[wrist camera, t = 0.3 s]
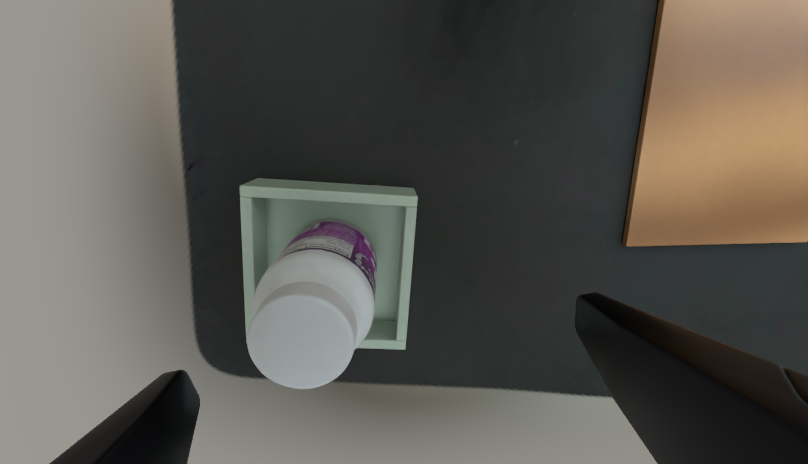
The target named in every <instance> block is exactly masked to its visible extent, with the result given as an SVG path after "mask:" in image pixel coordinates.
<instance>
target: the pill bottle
mask: <svg viewBox="0 0 808 464" xmlns="http://www.w3.org/2000/svg"><path fill="white" fill-rule="evenodd" d="M376 272H377V259H376V253H375V249H374V247H373V244H372V242H371V241H370V239H369V238H368V237H367V235H366V234H365V233H364V232H363V231H362V230H361V229H360V228H358V227H357V226H355V225H353V224H351V223H349V222H347V221H343V220H338V219H325V220H320V221H317V222H314V223H312V224H310V225H308V226H306V227H305V228H304V229H303V230H301V231H300V232H299V233H298V234H297V236H296V237H295V238H294V239H293V240H292V241H291V242H290V243H289V244H288V245H287V247H286V248H285V249H284V250H283V251H282V253H281V254H280V255H279V256H278V257H277V259H276V260H275V261H274V262H273V264H272V265H271V266H270V267H269V268H268V269H267V271H266V272H265V273H264V275H263V276H262V278H261V280H260V282H259V284H258V286H257V288H256V291H255V295H254V299H253V315H254V317H253V319H252V321H251V323H250V326H249V330H248V334H247V346H248V351H249V354H250V357H251V359H252V361H253V362H254V364H255V366H256V367H257V368H258V369H259V370H260V372H261V373H262V374H263V375H264V376H266V377H267V378H268V379H270V380H272V381H274V382H275V383H277V384H280V385H282V386H286V387H289V388H296V389H310V388H316V387H319V386H322V385H325V384H327V383H329V382H331V381H333V380H334V379H336V378H337V377H338V376H339V375H340V374H341V373H342V372H343V371H344V370H345V369H346V367H347V366H348V364H349V362H350V360H351V358H352V355H353V352H354V350H355V349H356V348H357V347H358V346H359V345H360V344H361V343H362V341H363V340H364V339H365V337H366V336H367V334H368V332H369V330H370V328H371V325H372V321H373V317H374V313H375V290H376Z"/></svg>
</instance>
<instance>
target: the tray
mask: <svg viewBox="0 0 808 464" xmlns="http://www.w3.org/2000/svg"><path fill="white" fill-rule="evenodd" d="M240 196H241V197H240V210H241V233H242V256H243V278H244V301H245V324H246V343H247V334H248V330H249V326H250V323H251V321H252V319H253V317H254V315H253V299H254V295H255V291H256V288H257V286H258V284H259V282H260V280H261V278H262V276H263V275H264V273H265V272H266V271H267V269H268V268H269V267H270V266H271V265H272V264H273V262H274V261H275V260H276V259H277V257H278V256H279V255H280V254H281V253H282V251H283V250H284V249H285V248H286V247H287V245H288V244H289V243H290V242H291V241H292V240H293V239H294V238H295V237H296V236H297V234H298V233H299V232H300V231H301V230H303V229H304V228H305V227H306V226H308V225H310V224H312V223H314V222H317V221H320V220H325V219H338V220H343V221H347V222H349V223H351V224H353V225H355V226H357V227H358V228H360V229H361V230H362V231H363V232H364V233H365V234H366V235H367V237H368V238H369V239H370V241H371V242H372V244H373V247H374V249H375V253H376V259H377V272H376V290H375V313H374V317H373V321H372V325H371V328H370V330H369V332H368V334H367V336H366V337H365V339H364V340H363V341H362V343H361V344H360V345H359V346H358V347H357V348H371V349H400V350H405V349H406V337H407V325H408V312H409V300H410V288H411V275H412V263H413V251H414V239H415V226H416V214H417V202H418V196H417V194H416V192H415V190H414V188H407V187H391V186H375V185H359V184H343V183H328V182H312V181H296V180H280V179H264V178H257V179H255V180H252V181H250V182H247V183H245V184H243V185H240Z"/></svg>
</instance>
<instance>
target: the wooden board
mask: <svg viewBox="0 0 808 464" xmlns="http://www.w3.org/2000/svg"><path fill="white" fill-rule="evenodd" d="M807 241H808V0H659V4H658V11H657V17H656V24H655V30H654V37H653V44H652V50H651V57H650V63H649V70H648V77H647V83H646V90H645V96H644V103H643V110H642V116H641V123H640V129H639V136H638V143H637V149H636V156H635V162H634V169H633V176H632V182H631V189H630V195H629V202H628V209H627V215H626V222H625V228H624V235H623V242H622V245H624V246H627V247H628V246H669V245H710V244H751V243H793V242H807Z"/></svg>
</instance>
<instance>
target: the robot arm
mask: <svg viewBox="0 0 808 464" xmlns="http://www.w3.org/2000/svg"><path fill="white" fill-rule="evenodd" d="M575 327H576V331H577V334H578V336H579V338H580V339H581V341H582V343H583V345H584V347H585V349H586V350H587V352H588V354H589V356H590V358H591V360H592V362H593V363H594V365H595V367H596V369H597V371H598V373H599V375H600V376H601V378H602V380H603V382H604V384H605V386H606V387H607V389H608V391H609V392H610V394H611V396H612V397H613V399H614V400H615V402H616V403H617V405H618V406H619V408H620V409H621V410H622V412H623V413H624V415H625V416H626V418H627V419H628V421H629V422H630V424H631V425H632V427H633V428H634V430H635V431H636V432H637V434H638V435H639V437H640V438H641V440H642V441H643V443H644V444H645V446H646V447H647V449H648V450H649V452H650V453H651V455H652V456H653V457H654V459H655V460H656V462H657V463H658V464H808V376H805V375H803V374H800V373H798V372H795V371H793V370H790V369H788V368H783V369H782V367H781V366H780V365H778V364H775V363H773V362H770V361H767V360H765V359H762V358H760V357H757V356H755V355H752V354H750V353H747V352H745V351H742V350H740V349H737V348H735V347H732V346H730V345H727V344H725V343H722V342H720V341H717V340H715V339H712V338H710V337H707V336H705V335H702V334H700V333H697V332H695V331H692V330H690V329H687V328H685V327H682V326H680V325H677V324H675V323H672V322H669V321H667V320H664V319H662V318H659V317H657V316H654V315H652V314H649V313H647V312H644V311H642V310H639V309H637V308H634V307H632V306H629V305H627V304H624V303H622V302H619V301H617V300H614V299H612V298H609V297H607V296H604V295H602V294H599V293H589V294H583V295H580V296H578V298H577V301H576V316H575ZM199 407H200V399H199V395H198V393H197V391H196V389H195V387H194V385H193V383H192V381H191V379H190V377H189V375H188V374H187V372H186V371H184V370H178V371H172V372H167V373H164V374H162V375H161V376H159V378H157V379H156V380H154V381H153V382H152V383H151V384H149V385H148V386H147V387H146V388H144V389H143V390H142V391H141V392H139V393H138V394H137V395H136V396H134V397H133V398H132V399H130V400H129V401H128V402H127V403H125V404H124V405H123V406H122V407H121V408H119V409H118V410H117V411H115V412H114V413H113V414H112V415H110V416H109V417H108V418H107V419H105V420H104V421H103V422H102V423H100V424H99V425H98V426H96V427H95V428H94V429H93V430H91V431H90V432H89V433H88V434H86V435H85V436H84V437H83V438H81V439H80V440H79V441H78V442H76V443H75V444H74V445H73V446H71V447H70V448H69V449H68V450H66V451H65V452H64V453H62V454H61V455H60V456H59V457H58V458H56V459H55V460H54V461H52V462H51V463H50V464H187V461H188V457H189V452H190V447H191V443H192V439H193V434H194V430H195V425H196V421H197V416H198V412H199Z"/></svg>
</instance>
